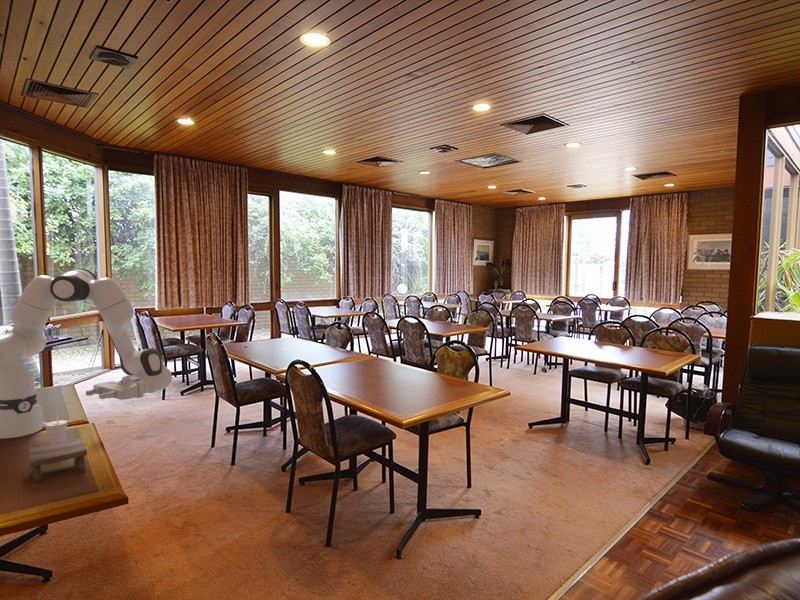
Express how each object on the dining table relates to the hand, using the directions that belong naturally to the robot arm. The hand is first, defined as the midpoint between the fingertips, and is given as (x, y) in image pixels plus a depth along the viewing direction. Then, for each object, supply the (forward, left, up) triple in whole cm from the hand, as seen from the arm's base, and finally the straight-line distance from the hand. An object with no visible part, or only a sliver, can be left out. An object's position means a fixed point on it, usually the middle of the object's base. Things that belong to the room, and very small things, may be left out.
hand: (93, 395), depth 174 cm
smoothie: (0, -12, -17) cm, 21 cm away
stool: (+19, -20, -17) cm, 32 cm away
